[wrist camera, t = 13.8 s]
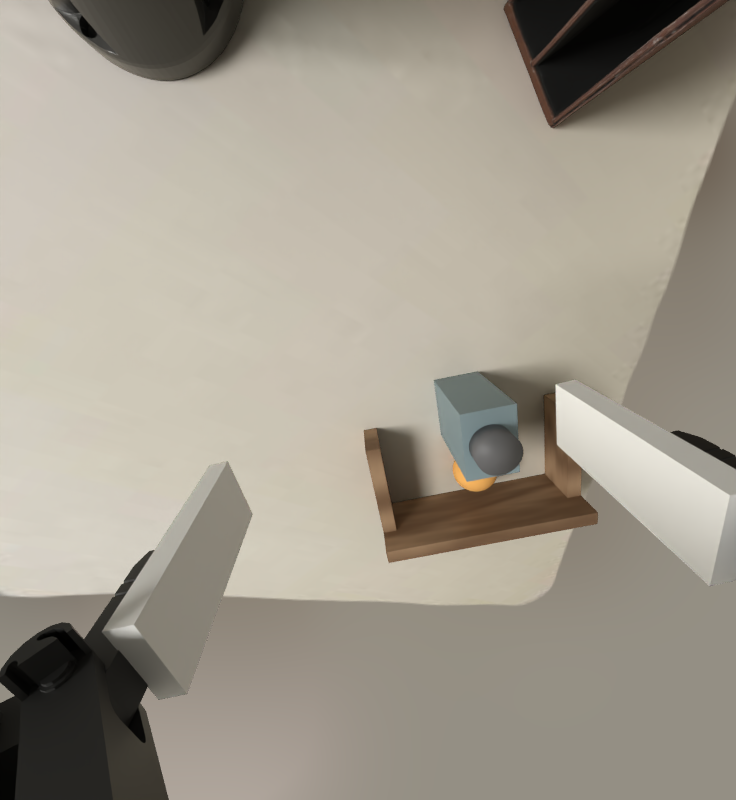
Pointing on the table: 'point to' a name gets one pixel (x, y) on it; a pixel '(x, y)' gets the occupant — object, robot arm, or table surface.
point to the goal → (483, 505)
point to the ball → (472, 485)
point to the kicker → (478, 426)
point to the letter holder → (593, 43)
